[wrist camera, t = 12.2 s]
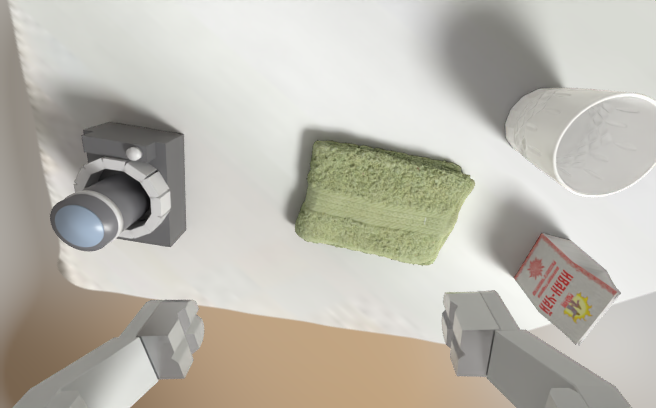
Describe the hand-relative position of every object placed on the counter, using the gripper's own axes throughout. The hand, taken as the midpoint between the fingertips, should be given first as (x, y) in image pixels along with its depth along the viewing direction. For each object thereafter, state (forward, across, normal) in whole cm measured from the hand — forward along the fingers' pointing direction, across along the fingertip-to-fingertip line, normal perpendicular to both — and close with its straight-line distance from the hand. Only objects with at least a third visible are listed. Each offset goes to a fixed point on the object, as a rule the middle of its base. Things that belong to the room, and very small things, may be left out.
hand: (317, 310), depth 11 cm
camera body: (+26, +22, +4) cm, 35 cm away
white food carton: (+27, -24, +18) cm, 40 cm away
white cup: (+27, -20, +1) cm, 34 cm away
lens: (+22, +22, +5) cm, 32 cm away
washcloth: (+27, -4, +9) cm, 29 cm away
